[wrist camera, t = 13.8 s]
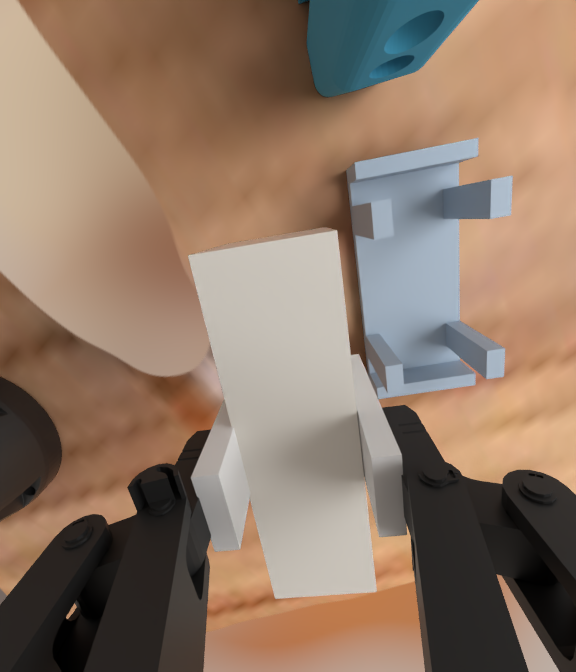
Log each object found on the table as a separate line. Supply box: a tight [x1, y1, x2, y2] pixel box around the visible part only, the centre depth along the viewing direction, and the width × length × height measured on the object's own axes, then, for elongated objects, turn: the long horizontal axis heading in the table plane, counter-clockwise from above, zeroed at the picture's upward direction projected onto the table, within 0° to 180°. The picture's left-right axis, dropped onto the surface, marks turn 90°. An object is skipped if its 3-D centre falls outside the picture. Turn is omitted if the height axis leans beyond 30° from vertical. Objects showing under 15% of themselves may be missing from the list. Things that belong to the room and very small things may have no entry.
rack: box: [346, 138, 513, 399], centre depth 23 cm, size 17×8×7 cm, turn 10°
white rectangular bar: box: [188, 227, 377, 599], centre depth 13 cm, size 14×4×5 cm, turn 9°
